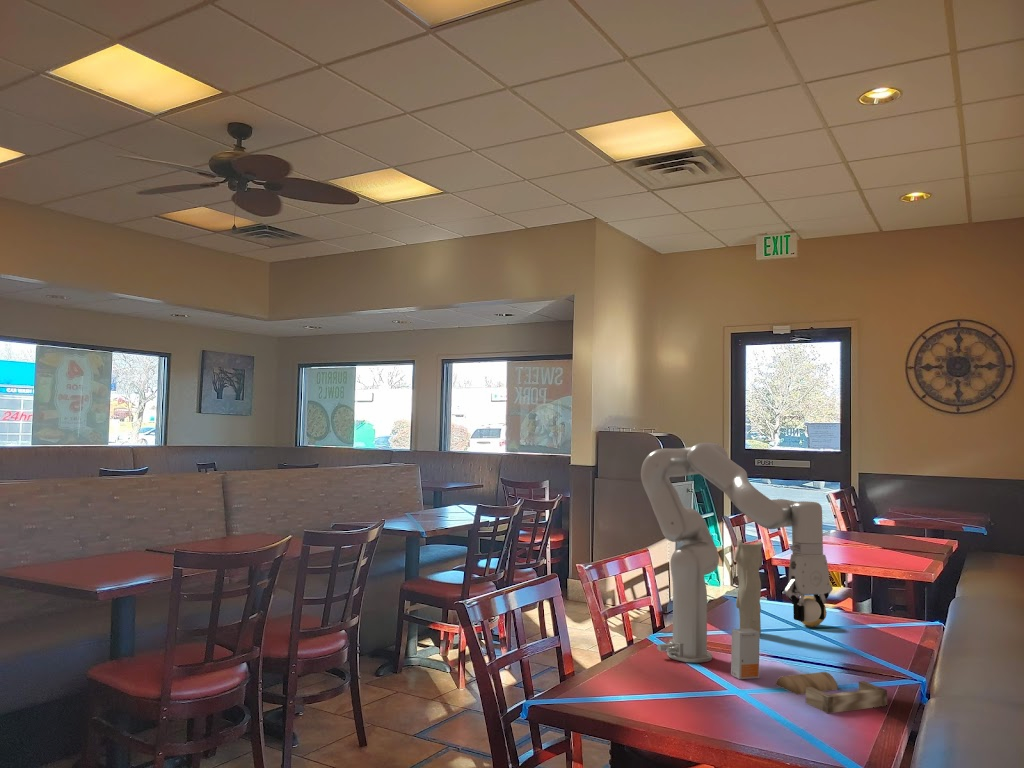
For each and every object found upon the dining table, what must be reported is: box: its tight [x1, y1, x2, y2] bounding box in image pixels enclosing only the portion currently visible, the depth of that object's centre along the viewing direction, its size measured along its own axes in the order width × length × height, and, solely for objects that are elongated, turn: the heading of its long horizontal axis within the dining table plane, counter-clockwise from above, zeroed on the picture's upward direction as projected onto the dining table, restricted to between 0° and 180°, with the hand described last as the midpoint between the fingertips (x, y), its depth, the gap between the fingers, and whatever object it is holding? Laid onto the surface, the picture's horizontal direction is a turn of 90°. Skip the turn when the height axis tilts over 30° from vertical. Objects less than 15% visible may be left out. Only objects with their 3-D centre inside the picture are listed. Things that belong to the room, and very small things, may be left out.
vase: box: [733, 538, 764, 634], centre depth 251 cm, size 9×8×30 cm
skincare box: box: [730, 628, 761, 680], centre depth 204 cm, size 6×4×12 cm
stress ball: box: [799, 595, 827, 628], centre depth 262 cm, size 10×10×10 cm
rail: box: [805, 680, 888, 714], centre depth 184 cm, size 18×7×4 cm, turn 110°
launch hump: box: [775, 671, 839, 695], centre depth 197 cm, size 13×8×8 cm, turn 110°
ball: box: [802, 598, 821, 622], centre depth 202 cm, size 6×6×6 cm
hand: (808, 618), depth 202 cm, fingers closed on ball, 6 cm apart
